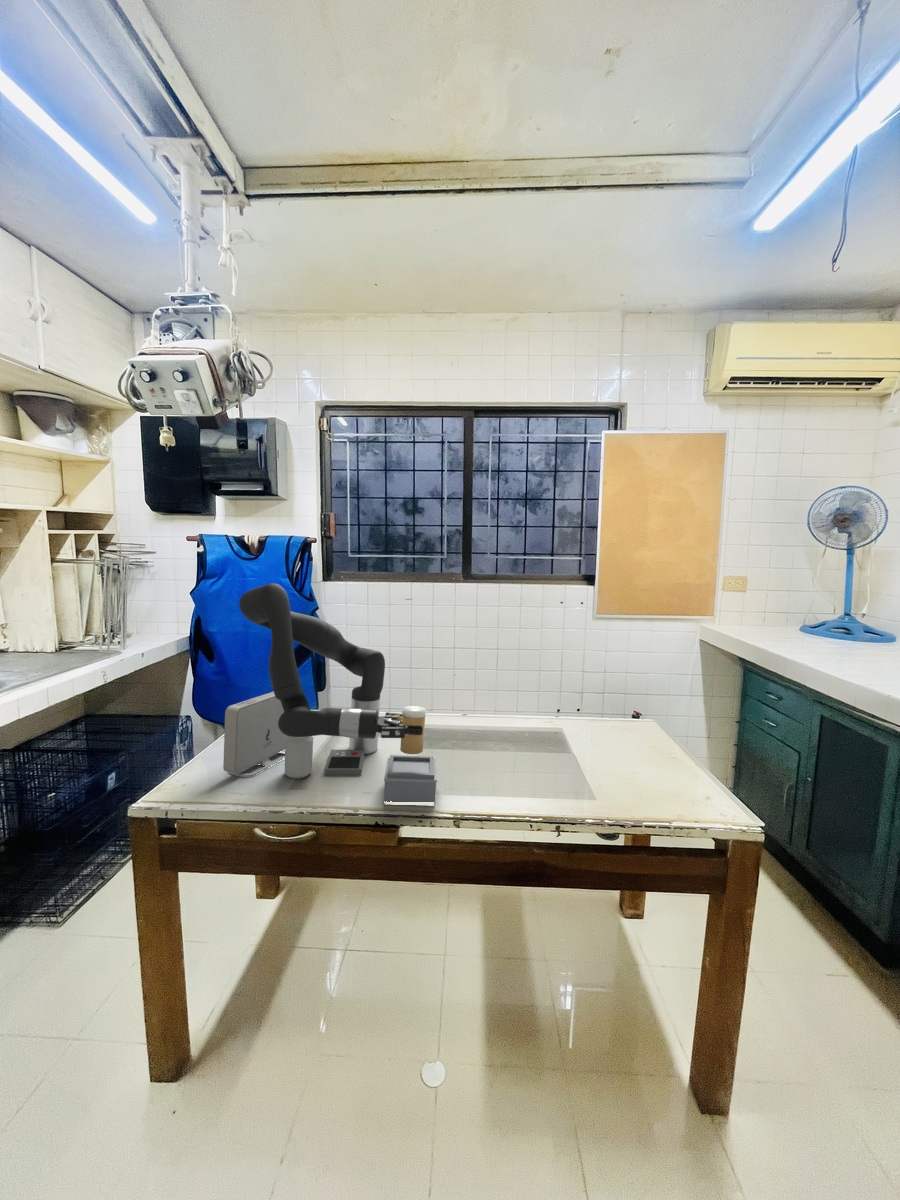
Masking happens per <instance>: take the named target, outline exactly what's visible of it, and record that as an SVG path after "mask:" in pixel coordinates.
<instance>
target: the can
mask: <svg viewBox="0 0 900 1200" xmlns="http://www.w3.org/2000/svg"><path fill="white" fill-rule="evenodd" d="M313 748H314V736H307V737H291V736H288V737H287V738H286V746H285V749H284V751H285V755H284V756H285V760H284V769H283V770H284V772H283V773H284V774H285V775H286V776H287V777H288V776H289V777H288V778H290V777H291V778H290V779H295V778H297V779H302V778H306V777H308V776H309V775H310V774H311V772H312V770H313V753H314V752H313V751H314V749H313ZM297 779H296V780H297Z"/></svg>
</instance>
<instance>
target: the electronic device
mask: <svg viewBox="0 0 900 1200" xmlns="http://www.w3.org/2000/svg"><path fill="white" fill-rule="evenodd" d="M364 759H365V754H364V750H349V749H330V751H329V755H328V757H327V761H326V763H325V767H324V769H323V775H324V776H362V774H363V766H364Z"/></svg>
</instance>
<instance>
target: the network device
mask: <svg viewBox="0 0 900 1200" xmlns="http://www.w3.org/2000/svg"><path fill="white" fill-rule="evenodd" d="M283 712H284V710H283V707H282V704H281V701H280V700H279V699H277V698H276V697H275V694H274V691H271V692H269V693H264V694H261V695H258V696H256V697H251V698H250V699H247V700H243V701H240V702H237V703H235V704H231V705H228V706H227V708H226V709H225V711H224V734H223V735H224V736H223V737H224V738H223V771H224V772H227V773H229V774H230V773H231V774H233V775H232V776H235V775H238V776H237V777H239V776H243V777H242V778H250V777H249V776H253V777H255V776H254V775H256V774H258V773H260V772H261V771H263V770H265V769H267V768H268V767H270V766H271V765H273V764H275V763H277V762H278V761H280V760H282V759H283V756H281V757H280V758H277V759H276V760H270V758H271V757H273V756H275V755H276V754H278V752H280V751H285V746H286V738H287V737H288V736H287V735H285V734H283V733H282V732H281V731H280V729H279V727H278V721H279V718H280V716H281V715H282V713H283ZM284 758H285V757H284ZM256 764H260V765H264V766H265V767H263V766H262V767H261V768H260V769H257V770H256V771H253V772H251V773H246V772H243V771H246V770H248V769H250V768H251V767H254V766H257V765H256ZM270 768H271V767H270ZM267 770H268V769H267ZM265 771H266V770H265ZM263 772H264V771H263ZM261 773H262V772H261ZM261 773H260V774H261ZM231 774H230V775H231ZM258 775H259V774H258ZM256 776H257V775H256Z"/></svg>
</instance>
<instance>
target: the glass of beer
mask: <svg viewBox="0 0 900 1200" xmlns="http://www.w3.org/2000/svg"><path fill="white" fill-rule="evenodd" d="M401 714H402V715H403V717H402V720H401V721H402V724H404V725H408V726H409V725H413V726H422V727H423V732H422V735H407V736H405V738H400V747H399V750H400V752H402V754H406V755H418V754H421V753H423V752H424V738H425V737H424V735H425V723H426V716H427V708H425V707H422V706H417V705H407V706H403V707H402V711H401Z"/></svg>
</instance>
